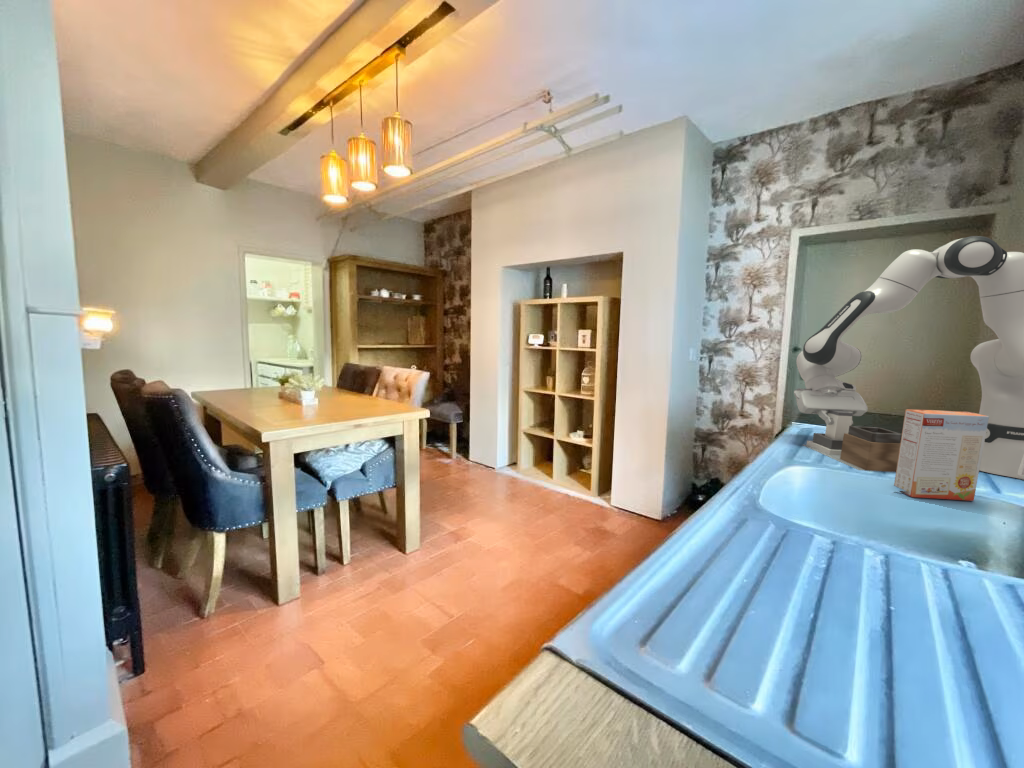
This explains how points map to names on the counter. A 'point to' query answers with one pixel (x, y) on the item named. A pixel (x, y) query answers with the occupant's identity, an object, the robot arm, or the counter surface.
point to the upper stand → (871, 448)
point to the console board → (837, 458)
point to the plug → (838, 424)
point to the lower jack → (826, 444)
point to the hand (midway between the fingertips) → (840, 424)
